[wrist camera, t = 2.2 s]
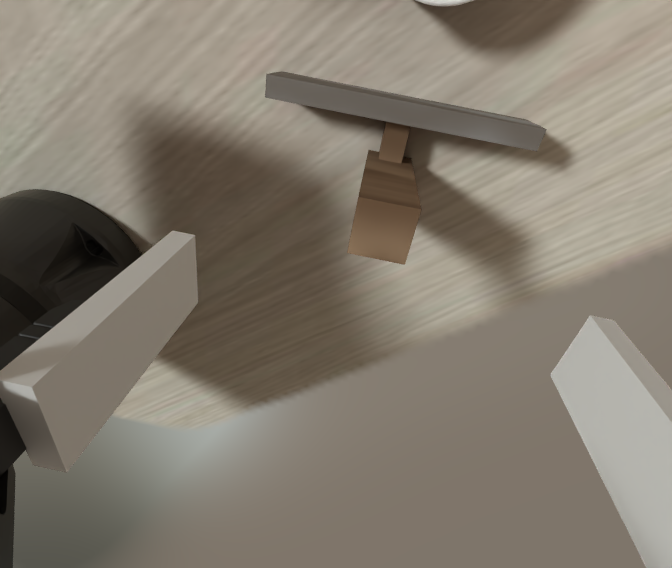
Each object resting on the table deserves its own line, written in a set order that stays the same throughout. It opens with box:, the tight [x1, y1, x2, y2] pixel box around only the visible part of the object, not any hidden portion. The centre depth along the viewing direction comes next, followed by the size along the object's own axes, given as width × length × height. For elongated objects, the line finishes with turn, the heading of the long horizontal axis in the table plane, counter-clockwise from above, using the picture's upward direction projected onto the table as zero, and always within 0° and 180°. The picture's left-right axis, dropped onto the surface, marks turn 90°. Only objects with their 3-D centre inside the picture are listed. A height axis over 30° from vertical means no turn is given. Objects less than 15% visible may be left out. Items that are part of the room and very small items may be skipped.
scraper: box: [265, 72, 547, 265], centre depth 21 cm, size 7×16×10 cm, turn 81°
